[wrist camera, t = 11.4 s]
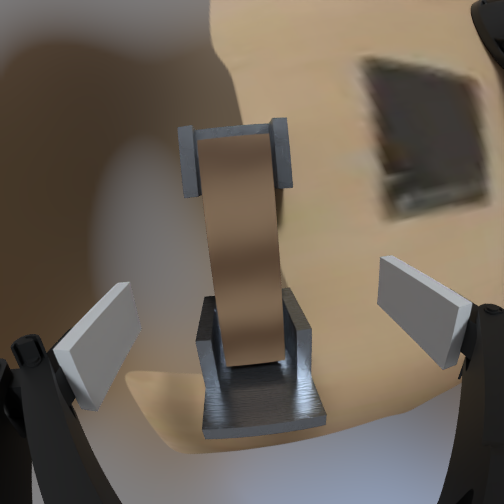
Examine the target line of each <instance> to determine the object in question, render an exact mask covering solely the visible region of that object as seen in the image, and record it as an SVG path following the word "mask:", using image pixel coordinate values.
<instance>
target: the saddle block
mask: <svg viewBox="0 0 504 504" xmlns="http://www.w3.org/2000/svg"><path fill="white" fill-rule="evenodd" d="M268 133H269V137H270V147H271V158H272V169H273V180H274V188H278V189H282V188H293V181H292V169H291V157H290V146H289V136H288V126H287V118H272V119H271V121H270V122H269V124H253V125H239V126H228V127H218V128H209V129H202V130H195V129H194V127H193V126H192V125H191V126H184V127H178V138H179V149H180V150H179V151H180V162H181V173H182V183H183V193H184V198H190V197H198V196H200V195H202V187H201V177H200V167H199V156H198V145H197V140H203V139H211V138H220V137H230V136H241V135H253V134H268Z"/></svg>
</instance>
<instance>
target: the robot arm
mask: <svg viewBox="0 0 504 504" xmlns="http://www.w3.org/2000/svg"><path fill="white" fill-rule="evenodd" d="M471 14H472V18H473V21H474V24H475V26H476V28H477V31H478V33H479V35H480V37H481V38H482V40H483V42H484V44H485V45H486V47H487V48H488V50H489V51H490V53H491V54H492V56H493V57H494V58H495V60H496V61H497V62H498V63H499V64H500V66H501V67H502V68H503V69H504V0H478V1H477V2H475V3H473V4H472V6H471ZM377 304H378V305H379V306H380V307H381V308H382V309H383V310H384V311H385V312H386V313H387V314H388V315H389V316H390V317H391V318H392V319H393V320H394V321H395V322H396V323H397V324H398V325H399V326H400V327H401V328H402V329H403V330H404V331H405V332H406V333H407V334H408V335H409V336H410V337H411V338H412V339H413V340H414V341H415V342H416V343H417V344H418V345H419V346H420V347H421V348H422V349H423V350H424V351H425V352H426V353H427V354H428V355H429V356H430V357H431V358H432V359H433V360H434V361H435V362H436V363H437V364H438V365H439V366H440V367H441V368H442V369H443V370H444V369H447V368H449V367H452V366H454V365H456V364H457V361H458V358H459V355H460V352H462V353H463V354H464V355H465V356H466V357H465V360H464V363H463V366H462V369H461V371H460V374H459V377H458V379H460V378H461V376H462V387H461V399H460V407H459V415H458V422H457V428H456V434H455V439H454V444H453V449H452V454H451V458H450V463H449V467H448V471H447V475H446V478H445V482H444V485H443V489H442V492H441V495H440V498H439V501H438V503H437V504H504V309H503V308H501V307H499V306H497V305H494V304H483V305H480V306H477V305H476V304H474V303H472V302H471V301H469V300H468V299H466V298H464V297H463V296H461V295H460V294H457V293H456V292H455V291H453V290H451V289H449V288H447V287H446V286H444V285H442V284H441V283H439V282H437V281H436V280H434V279H432V278H431V277H429V276H427V275H426V274H424V273H422V272H420V271H419V270H417V269H415V268H414V267H412V266H410V265H408V264H406V263H405V262H403V261H401V260H399V259H398V258H396V257H394V256H392V255H391V256H383V257H380V271H379V288H378V301H377ZM141 329H142V328H141V324H140V321H139V317H138V313H137V309H136V305H135V300H134V296H133V292H132V288H131V283H130V282H124V283H123V282H122V283H117V284H116V285H115V286H114V287H113V288H112V289H111V290H110V291H109V292H108V293H107V294H106V295H105V296H104V297H103V298H102V299H101V300H100V301H99V302H97V303H96V305H95V306H94V307H93V308H92V309H91V310H90V311H89V312H88V313H87V314H86V315H85V316H84V317H83V318H82V319H81V320H80V321H79V322H78V323H77V324H76V325H75V326H74V327H72V328H71V329H69V330H68V331H67V332H66V333H65V334H64V335H63V336H62V337H61V338H60V339H59V340H58V342H56V343H55V345H54V346H53V347H52V348H51V349H50V350H49V351H48V352H47V353H46V351H45V348H44V346H43V343H42V341H41V338H40V337H39V335H36V334H30V335H26V336H23V337H21V338H19V339H17V340H16V341H15V342H14V343H13V344H12V345H11V350H12V352H13V354H14V356H15V358H16V361H17V363H18V365H19V367H20V369H10V368H9V366H8V364H7V362H6V360H5V359H0V504H32V462H33V466H34V470H35V474H36V478H37V481H38V485H39V488H40V491H41V495H42V498H43V501H44V504H122V503H121V501H120V500H119V498H118V496H117V495H116V493H115V491H114V490H113V488H112V487H111V485H110V483H109V481H108V479H107V478H106V476H105V474H104V472H103V470H102V468H101V467H100V465H99V463H98V461H97V459H96V457H95V455H94V453H93V451H92V449H91V446H90V445H89V442H88V440H87V438H86V436H85V433H84V431H83V429H82V426H81V424H80V422H79V419H78V417H77V414H76V412H75V410H74V408H73V406H72V402H73V401H74V399H75V398H76V400H77V402H78V404H79V405H80V407H81V409H85V410H91V411H98V409H99V407H100V405H101V403H102V402H103V400H104V398H105V395H106V394H107V392H108V390H109V388H110V386H111V384H112V382H113V380H114V378H115V376H116V375H117V372H118V370H119V369H120V367H121V365H122V363H123V361H124V360H125V358H126V356H127V354H128V352H129V351H130V349H131V347H132V345H133V343H134V342H135V340H136V338H137V336H138V335H139V333H140V331H141ZM5 413H6V414H5Z"/></svg>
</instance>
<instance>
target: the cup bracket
mask: <svg viewBox="0 0 504 504" xmlns="http://www.w3.org/2000/svg"><path fill="white" fill-rule="evenodd" d="M282 305H283V324H284V344H285V360H282V361H274V362H266V363H258V364H249V365H240V366H229V367H227V366H226V361H225V355H224V349H223V343H222V337H221V331H220V324H219V318H218V311H217V305H216V298H215V296H208V297H205V298H204V302H203V307H202V312H201V317H200V321H199V326H198V331H197V336H196V346H197V351H198V356H199V360H200V365H201V369H202V373H203V378H204V382H205V386H206V391H205V402H204V413H203V425H202V431H203V434H204V437H205V439H223V438H238V437H250V436H260V435H268V434H276V433H283V432H290V431H296V430H302V429H307V428H312V427H318V426H322V425H325V424H326V416H327V415H326V412H325V410H324V407H323V405H322V402H321V400H320V397H319V394H318V392H317V389H316V387H315V384H314V382H313V379H312V377H311V352H312V328H311V326H310V324H309V323H308V321H307V319H306V317H305V315H304V313H303V311H302V309H301V307H300V306H299V304H298V302H297V300H296V298H295V296H294V294H293V293H292V291H291V289H290V288H284V289H282Z"/></svg>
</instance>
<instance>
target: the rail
mask: <svg viewBox="0 0 504 504" xmlns="http://www.w3.org/2000/svg"><path fill="white" fill-rule="evenodd" d="M197 145H198V156H199V167H200V177H201V187H202V196H203V205H204V213H205V223H206V230H207V239H208V247H209V255H210V262H211V269H212V277H213V284H214V290H215V298H216V305H217V311H218V318H219V324H220V331H221V337H222V343H223V349H224V355H225V361H226V366H227V367H229V366H240V365H249V364H258V363H266V362H274V361H282V360H285V344H284V324H283V305H282V288H281V274H280V273H281V272H280V257H279V243H278V229H277V216H276V204H275V192H274V180H273V169H272V158H271V147H270V137H269V133H268V134H253V135H241V136H230V137H220V138H211V139H203V140H197Z"/></svg>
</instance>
